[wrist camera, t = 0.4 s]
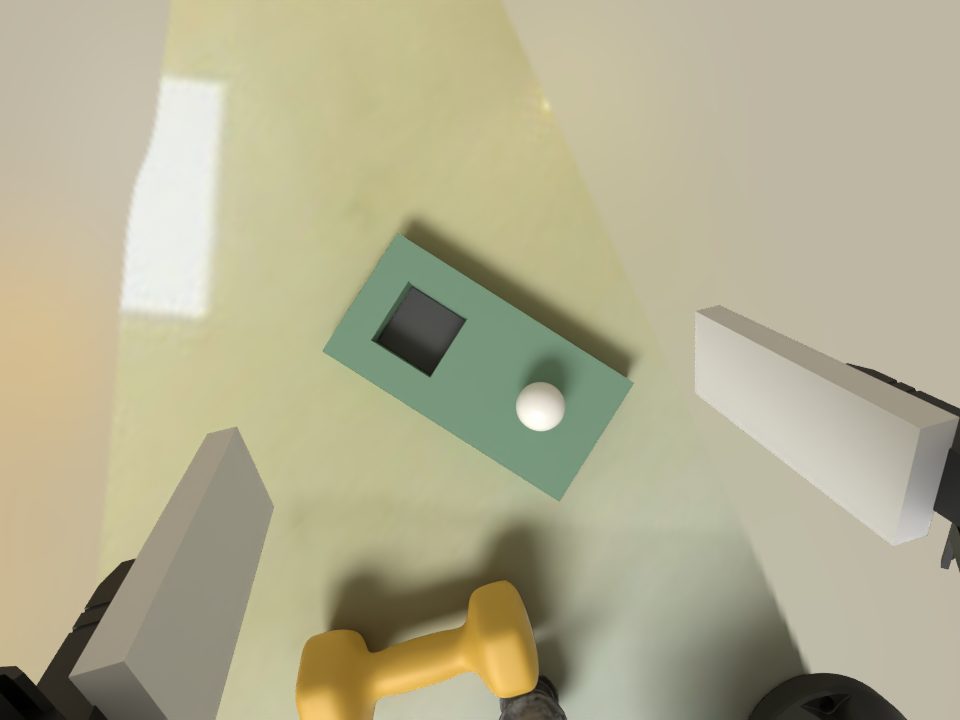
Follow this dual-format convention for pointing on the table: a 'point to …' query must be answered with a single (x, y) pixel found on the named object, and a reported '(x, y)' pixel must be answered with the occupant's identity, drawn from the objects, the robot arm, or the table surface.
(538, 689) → the dark grey chess piece
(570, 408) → the green
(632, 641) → the table surface
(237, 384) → the table surface
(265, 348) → the table surface
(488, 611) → the dumbbell
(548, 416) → the ball
